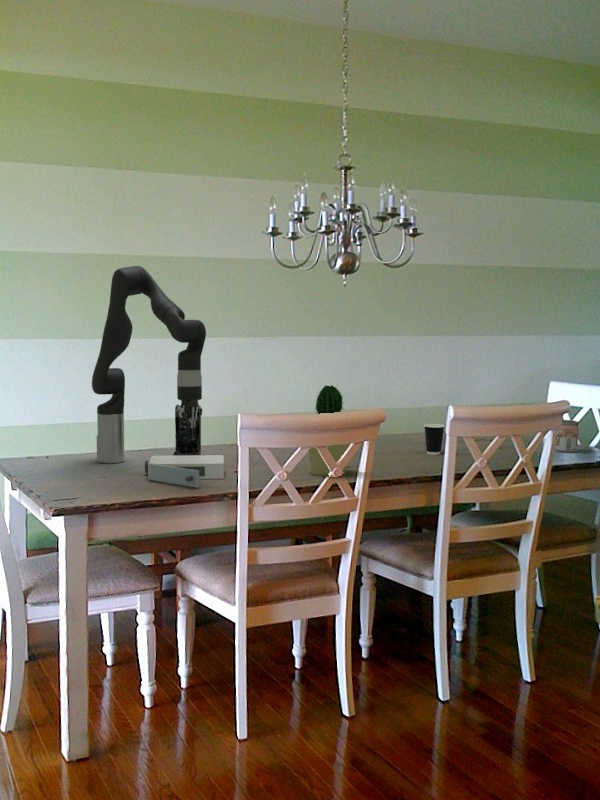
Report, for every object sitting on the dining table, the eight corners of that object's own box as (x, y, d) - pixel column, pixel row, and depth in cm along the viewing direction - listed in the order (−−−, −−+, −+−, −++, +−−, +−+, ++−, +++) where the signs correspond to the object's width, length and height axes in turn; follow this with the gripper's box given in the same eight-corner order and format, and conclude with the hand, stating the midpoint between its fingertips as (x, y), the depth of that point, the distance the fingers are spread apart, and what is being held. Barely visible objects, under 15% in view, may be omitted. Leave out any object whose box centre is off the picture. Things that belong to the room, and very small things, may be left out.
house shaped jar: (554, 448, 346) (555, 419, 345) (576, 449, 344) (577, 419, 343) (556, 452, 337) (557, 421, 336) (578, 453, 335) (580, 422, 334)
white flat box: (143, 479, 277) (143, 464, 277) (147, 470, 293) (147, 455, 293) (223, 478, 279) (223, 463, 279) (223, 469, 295) (223, 455, 295)
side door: (143, 480, 275) (143, 464, 274) (151, 478, 277) (151, 462, 277) (192, 488, 263) (192, 471, 262) (200, 486, 265) (200, 470, 265)
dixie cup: (419, 453, 332) (419, 425, 331) (431, 451, 338) (432, 423, 336) (435, 456, 326) (436, 427, 325) (448, 453, 332) (449, 425, 331)
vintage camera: (170, 466, 304) (171, 409, 302) (175, 456, 320) (175, 403, 317) (198, 466, 305) (199, 410, 302) (201, 457, 320) (202, 404, 317)
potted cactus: (306, 477, 284) (306, 385, 281) (304, 468, 299) (305, 381, 296) (353, 477, 284) (354, 385, 281) (349, 468, 299) (350, 381, 296)
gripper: (190, 386, 261) (190, 443, 263) (210, 383, 273) (210, 437, 275) (168, 385, 264) (168, 442, 265) (189, 382, 276) (189, 436, 278)
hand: (189, 439), depth 270 cm, fingers closed
